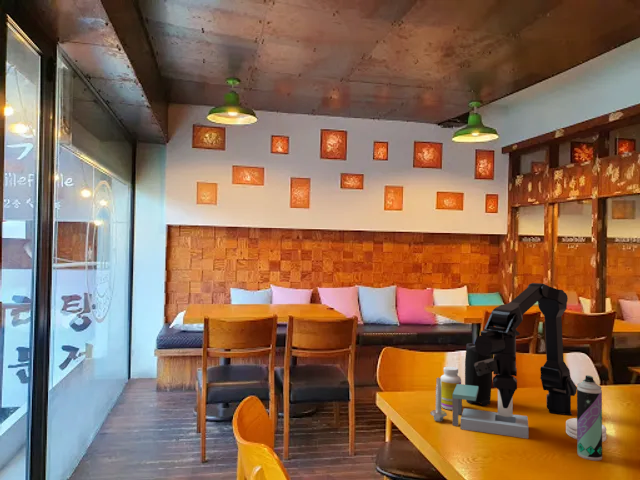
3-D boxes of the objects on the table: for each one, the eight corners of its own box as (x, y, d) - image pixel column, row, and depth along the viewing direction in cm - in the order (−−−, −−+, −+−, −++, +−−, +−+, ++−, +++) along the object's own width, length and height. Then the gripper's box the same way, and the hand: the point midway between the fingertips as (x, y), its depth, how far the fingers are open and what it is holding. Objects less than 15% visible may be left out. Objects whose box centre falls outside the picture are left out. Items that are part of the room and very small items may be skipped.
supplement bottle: (462, 411, 153) (462, 371, 154) (441, 409, 155) (441, 370, 155) (460, 404, 160) (460, 366, 160) (440, 403, 161) (440, 365, 161)
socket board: (527, 426, 140) (527, 416, 140) (528, 438, 131) (528, 427, 131) (463, 418, 147) (463, 408, 147) (460, 429, 138) (460, 418, 138)
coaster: (602, 432, 137) (601, 420, 137) (610, 445, 127) (610, 432, 127) (563, 427, 140) (563, 415, 140) (568, 440, 131) (568, 427, 131)
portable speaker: (490, 399, 166) (490, 343, 166) (492, 408, 157) (492, 348, 157) (464, 397, 168) (465, 341, 169) (464, 405, 159) (465, 346, 160)
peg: (512, 413, 139) (512, 382, 139) (512, 417, 135) (512, 385, 136) (498, 411, 141) (498, 380, 141) (497, 415, 137) (497, 384, 137)
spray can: (572, 451, 123) (572, 373, 123) (592, 451, 123) (592, 373, 124) (586, 460, 117) (585, 379, 118) (607, 460, 118) (606, 378, 118)
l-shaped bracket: (478, 415, 149) (478, 386, 149) (475, 428, 138) (475, 396, 138) (457, 412, 152) (457, 383, 152) (452, 425, 141) (452, 394, 141)
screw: (432, 416, 148) (447, 418, 146) (428, 421, 144) (445, 423, 142) (432, 374, 149) (448, 376, 147) (428, 378, 144) (445, 380, 142)
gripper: (478, 343, 150) (478, 393, 150) (473, 355, 133) (473, 412, 132) (516, 346, 146) (516, 398, 146) (516, 359, 129) (517, 417, 128)
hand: (505, 405), depth 138 cm, fingers closed on peg, 4 cm apart
